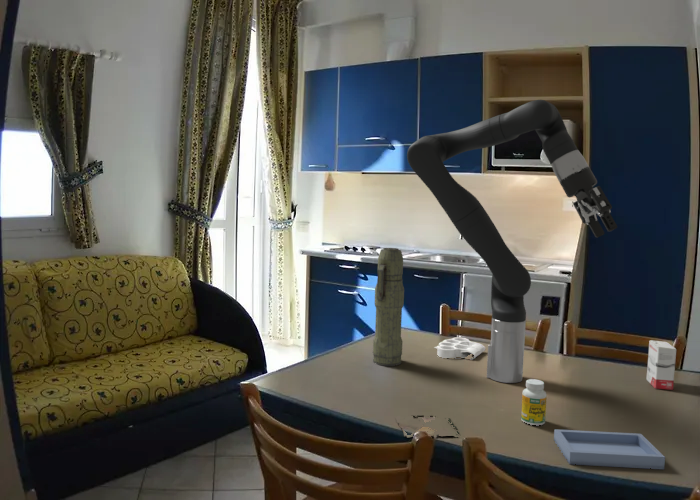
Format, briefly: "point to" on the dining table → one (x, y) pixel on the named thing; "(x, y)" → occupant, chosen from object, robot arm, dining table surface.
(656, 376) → the ink box
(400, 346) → the thermos
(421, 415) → the parchment
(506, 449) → the dining table surface
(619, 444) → the tray
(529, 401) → the supplement bottle
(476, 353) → the white holder with holes
